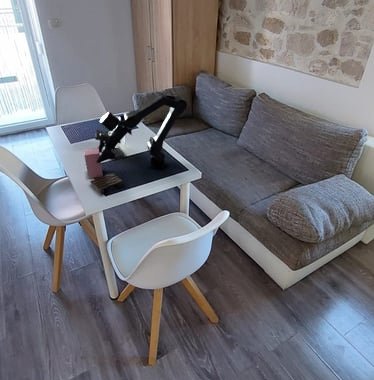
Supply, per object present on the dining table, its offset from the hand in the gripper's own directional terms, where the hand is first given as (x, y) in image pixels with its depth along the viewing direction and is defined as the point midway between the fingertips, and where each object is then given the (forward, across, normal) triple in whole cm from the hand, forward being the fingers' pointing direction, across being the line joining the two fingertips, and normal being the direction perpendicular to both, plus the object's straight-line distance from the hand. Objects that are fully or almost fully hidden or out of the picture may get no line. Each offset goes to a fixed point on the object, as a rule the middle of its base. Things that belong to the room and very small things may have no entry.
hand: (96, 158), depth 152 cm
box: (+8, 0, +5) cm, 9 cm away
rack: (+4, +12, +8) cm, 16 cm away
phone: (0, -22, +13) cm, 25 cm away
